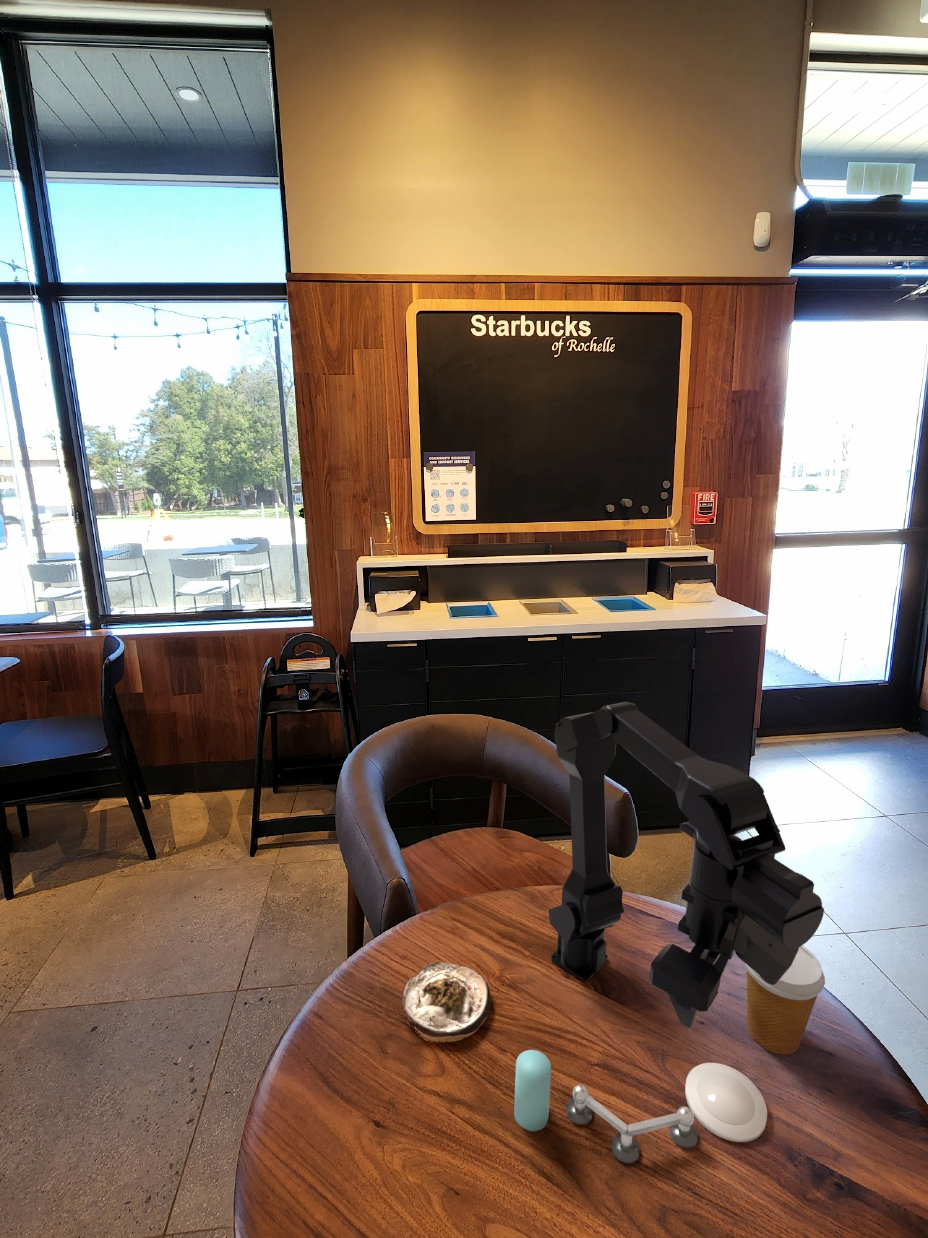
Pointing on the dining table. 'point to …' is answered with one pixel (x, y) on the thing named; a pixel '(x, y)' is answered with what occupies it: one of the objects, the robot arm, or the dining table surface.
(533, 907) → the dining table surface
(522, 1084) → the peg
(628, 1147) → the railing
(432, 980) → the sushi roll
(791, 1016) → the disposable coffee cup
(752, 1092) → the saucer
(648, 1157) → the dining table surface
